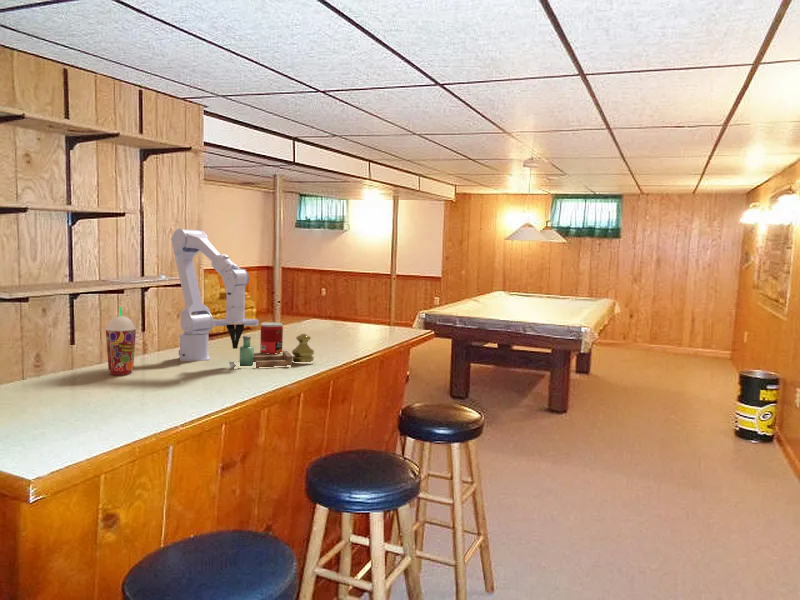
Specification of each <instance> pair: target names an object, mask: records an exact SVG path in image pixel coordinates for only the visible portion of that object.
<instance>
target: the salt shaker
mask: <svg viewBox="0 0 800 600" xmlns="http://www.w3.org/2000/svg"><path fill="white" fill-rule="evenodd" d="M295 338H296V340H297V341H298V343H299V344H298V345H297V346H296V347H294V348H293V349H292V351H291V352H292V354H291V356H292V355H293V356H292V361H294V362H311V361H313V360H314V358H315V357H314V354H315V350H314V349H313V348H311V346H309V344H308V342H310V340H311V339H312V336H309V335H308V334H306V333H301V334H300V335H297V336H296V337H295ZM314 361H315V360H314Z"/></svg>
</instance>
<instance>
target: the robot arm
mask: <svg viewBox="0 0 800 600" xmlns="http://www.w3.org/2000/svg"><path fill="white" fill-rule="evenodd" d="M170 240H171V245H172V249H173V254H174V259H175V263H176V268H177V273H178V279H179V283H180V285H181V291H182V297H183V300H184V304H185V306H184V308H183V309H182V310H181V311H180V313H179V315H180V328H181V330H182V331H183V333H179V350H178V356H179V362H196V361H197V362H200V361H210V360H211V358H210V354H209V333H211V331H212V329H213V328H214V327H226V329H227V331H228V335H229V337H230V340H231V345H232V349H235V350H236V349H238V345H239V342H240V339H241V338H242V337H241V336H242V334H243V333H244V330H245V327H247V326H249V327H259V325H260V324H259V323H260V322H259V319H255V318H254V319H249V318H245V315H246V314H245V313H246V311H245V309H246V307H245V306H246V305H245V304H246V303H245V302H246V300H245V299H246V286H247V285H248V283H249V282H250V275H249V272H248V271H247V270H246V269H245V268H240V267H239V266H238V265H237V264H236V263H234V262H233V261H232V260H231V259H230V256H229V255H228V254H224V253H221V254H220V252H219V251H218V250H217V249H216V247H214V245H213V244H212V243H211V242H210V240H209V235H207V234H206V233H205V231H204V230H202V229H186V228H185V229H182V228H176V229H175V231H174V232H173V234H172V236H171V238H170ZM200 252H201V254H202V255H204V256H205V257H206V258H208V259H209V260H210V261H211V267H212V268H213V269H214V270H215V271H216V272H217V273H218V274H219V275H220V276H221V277H222V283H223V285H224V290H225V292H226V299H225V300H226V301H225V302H226V305H225V306H226V307H225V309H226V310H225V313H226V314H225V315H226V317H225V318H224V319H223V318H222V319H219V318H218V319H214V316H213V315H212V313H211V311H210V308H209V307H208V306H206V305H205V304H204V303H203V301H202V297H201V291H200V288H199V284H198V283H199V282H198V279H197V274H196V270H195V265H194V260H193V259H194V257H196V256H197V255H198V253H200Z"/></svg>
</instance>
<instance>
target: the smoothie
mask: <svg viewBox="0 0 800 600" xmlns="http://www.w3.org/2000/svg"><path fill="white" fill-rule="evenodd" d="M104 329H105V342H106V353H107V354H106V355H107V356H106V357H107V368H108V371H109V374H110V375H113V376H126V375H130V374H132V372H133V371H132V370H133V369H134V366H135V365H134V364H135V350H136V334H137V333H136V332H137V327H136V326H135V324H134V322H133V320H132V319H131V318H130V317H128V316H125V315H123V306H119V315H118V316H115V317H113V318H111V319H110V321H108V323H107V326H106V327H105V328H104Z"/></svg>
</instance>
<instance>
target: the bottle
mask: <svg viewBox="0 0 800 600" xmlns="http://www.w3.org/2000/svg"><path fill="white" fill-rule="evenodd" d="M251 338H252V336H251V335H242V340H243V342H242V343H243V344H242V345H241V346H239V362H240V366H252V365H253V358H254V356H255V355H254V349H255V346H252V345H251Z"/></svg>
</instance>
